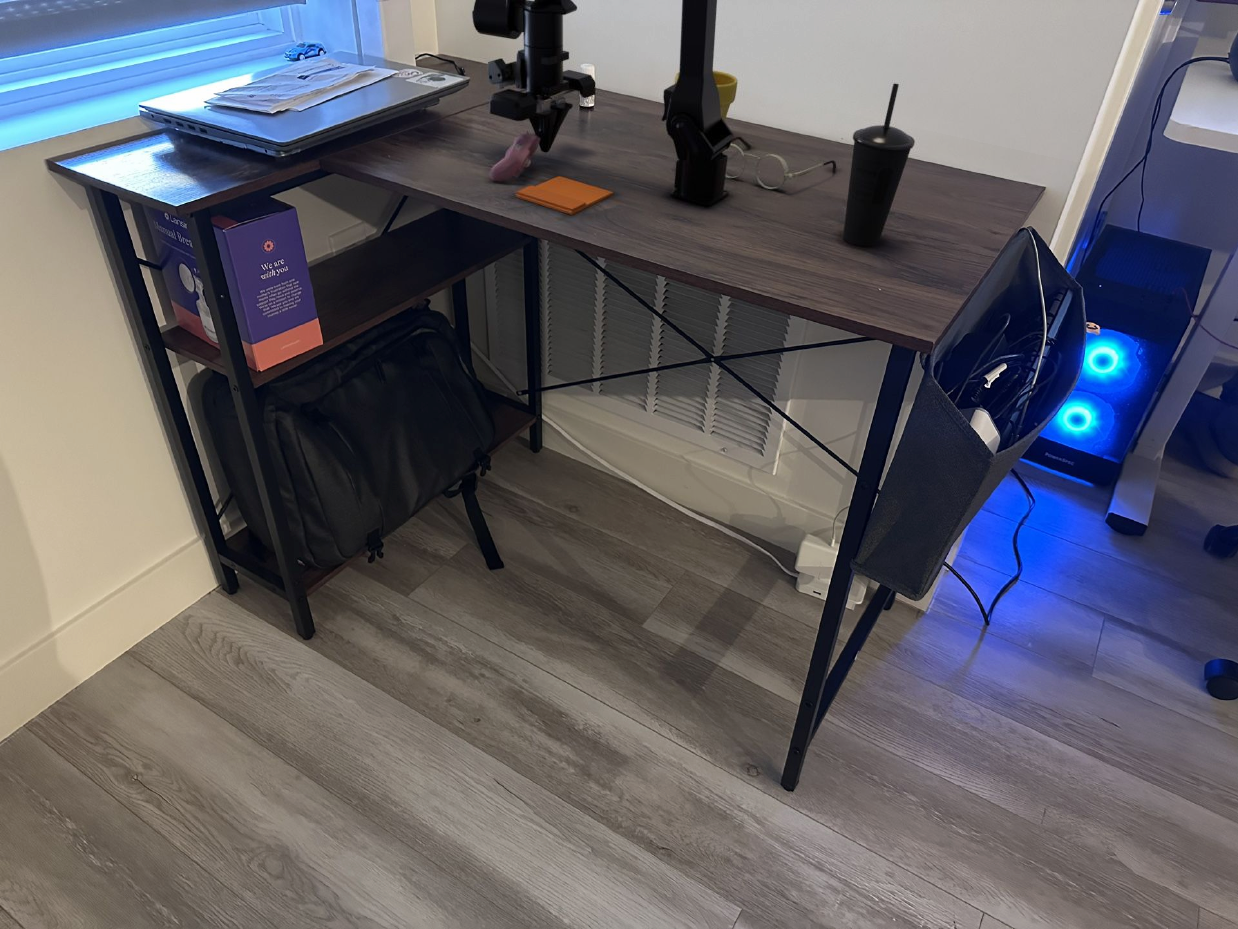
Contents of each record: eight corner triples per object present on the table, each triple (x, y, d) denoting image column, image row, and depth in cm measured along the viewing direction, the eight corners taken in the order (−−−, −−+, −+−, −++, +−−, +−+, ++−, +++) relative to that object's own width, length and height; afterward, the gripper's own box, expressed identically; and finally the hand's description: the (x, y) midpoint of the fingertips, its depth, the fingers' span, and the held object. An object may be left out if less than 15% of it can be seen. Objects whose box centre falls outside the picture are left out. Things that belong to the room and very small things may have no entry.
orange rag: (612, 194, 128) (613, 189, 128) (571, 214, 121) (571, 209, 121) (558, 178, 132) (558, 173, 132) (516, 197, 126) (515, 191, 125)
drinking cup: (899, 240, 119) (939, 85, 107) (872, 256, 115) (910, 96, 102) (850, 223, 123) (883, 72, 111) (822, 238, 119) (852, 82, 106)
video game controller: (513, 194, 130) (533, 154, 126) (486, 178, 130) (505, 137, 125) (530, 172, 138) (549, 133, 134) (504, 156, 137) (523, 117, 133)
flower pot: (730, 129, 155) (737, 70, 149) (730, 148, 147) (738, 87, 141) (672, 125, 155) (676, 66, 149) (669, 144, 147) (673, 82, 141)
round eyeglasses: (699, 170, 138) (702, 137, 135) (746, 146, 148) (750, 116, 145) (796, 197, 130) (802, 163, 127) (839, 170, 140) (845, 139, 137)
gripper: (541, 24, 137) (542, 126, 146) (457, 45, 124) (465, 155, 134) (598, 36, 132) (596, 141, 141) (517, 59, 120) (521, 172, 129)
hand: (545, 151), depth 137 cm, fingers closed
